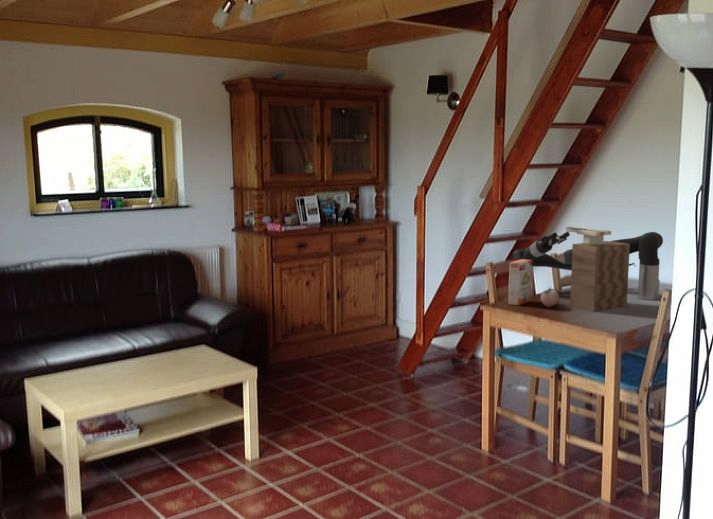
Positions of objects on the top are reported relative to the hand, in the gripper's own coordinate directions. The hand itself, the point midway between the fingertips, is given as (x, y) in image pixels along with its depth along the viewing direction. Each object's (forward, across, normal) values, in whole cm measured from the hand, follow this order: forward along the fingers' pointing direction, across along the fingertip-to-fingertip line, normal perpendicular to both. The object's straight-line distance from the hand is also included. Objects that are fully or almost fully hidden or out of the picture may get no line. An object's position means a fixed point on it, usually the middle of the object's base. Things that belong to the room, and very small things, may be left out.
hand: (562, 233), depth 355 cm
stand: (0, -7, -38) cm, 39 cm away
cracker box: (-23, +20, -26) cm, 40 cm away
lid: (+12, 0, -5) cm, 14 cm away
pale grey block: (+14, -1, -12) cm, 19 cm away
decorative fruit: (-9, +16, -34) cm, 38 cm away
